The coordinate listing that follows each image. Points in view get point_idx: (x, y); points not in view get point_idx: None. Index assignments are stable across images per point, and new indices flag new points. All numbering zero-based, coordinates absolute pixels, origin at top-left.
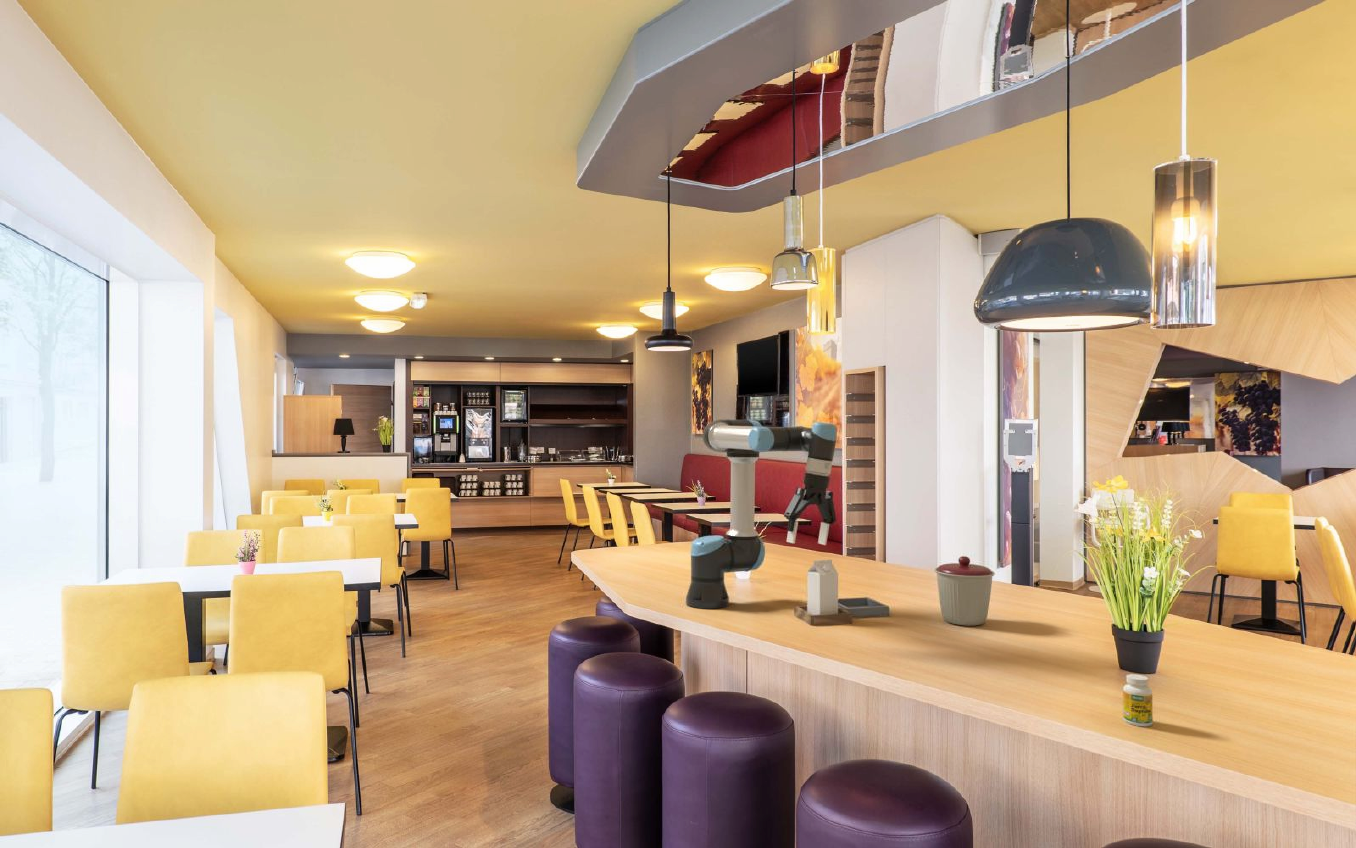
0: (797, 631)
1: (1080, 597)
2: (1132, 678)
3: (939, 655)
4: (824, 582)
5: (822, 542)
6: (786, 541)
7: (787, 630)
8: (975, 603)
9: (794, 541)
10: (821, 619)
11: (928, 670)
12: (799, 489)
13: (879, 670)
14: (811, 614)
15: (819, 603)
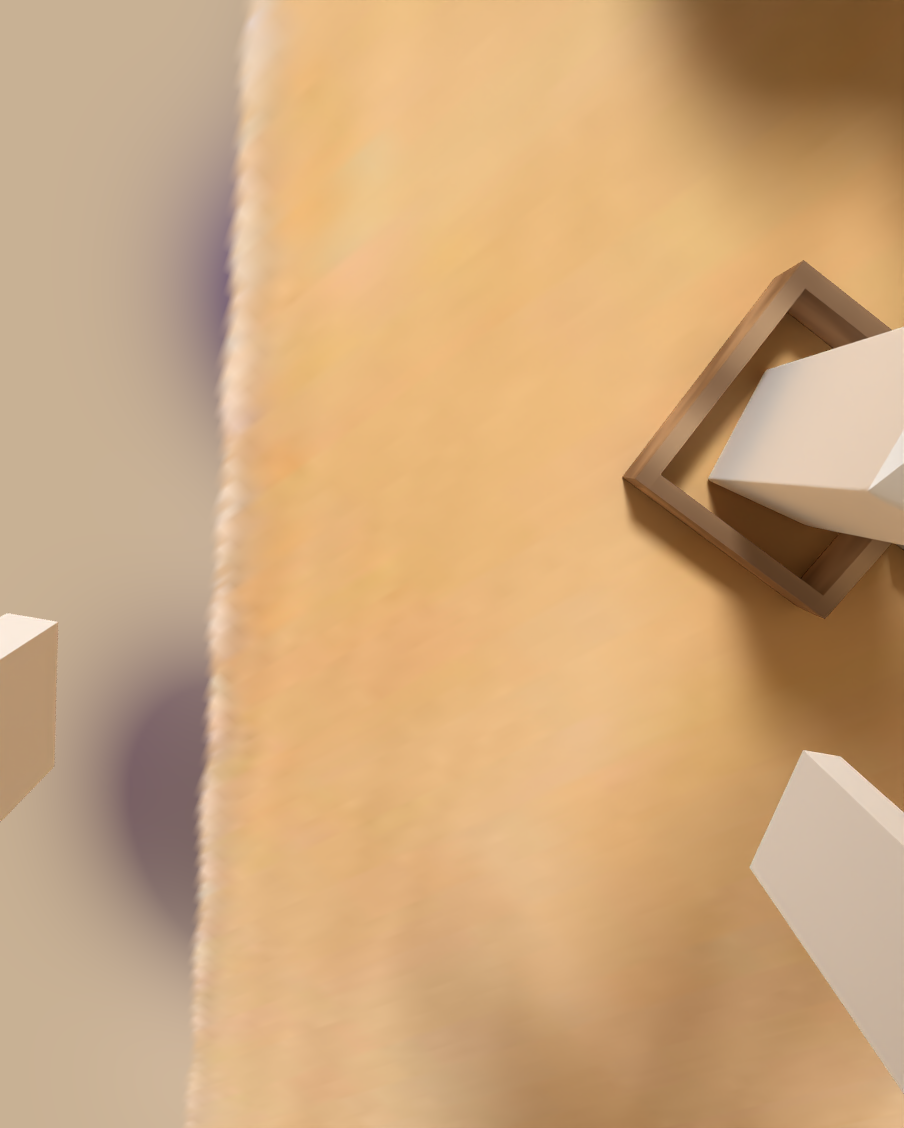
0: (478, 488)
1: None
2: None
3: (527, 1054)
4: (866, 507)
5: (787, 855)
6: (6, 614)
7: (462, 440)
8: None
9: (18, 788)
10: (676, 512)
11: (334, 1080)
12: None
13: (220, 973)
14: (666, 463)
15: (753, 479)
